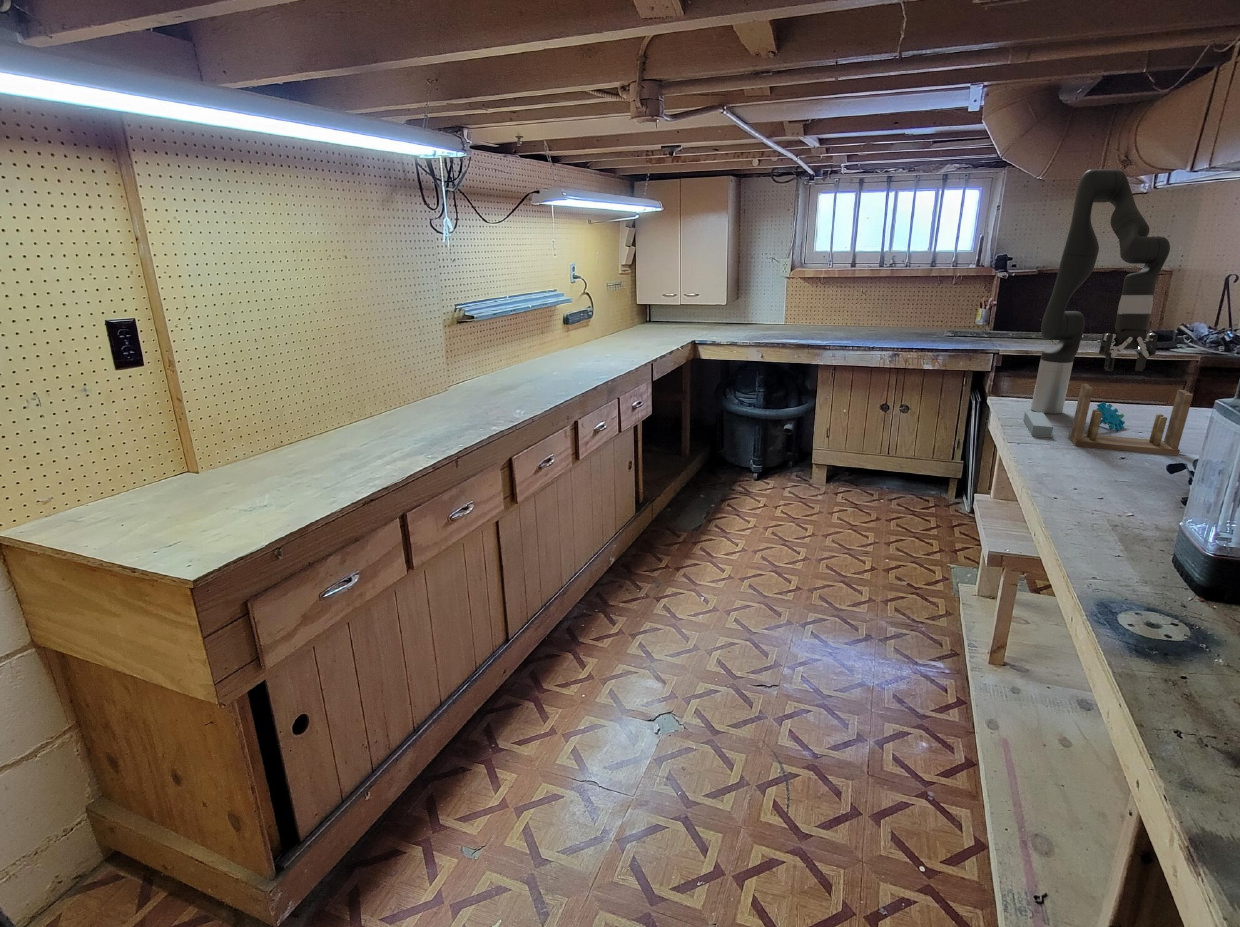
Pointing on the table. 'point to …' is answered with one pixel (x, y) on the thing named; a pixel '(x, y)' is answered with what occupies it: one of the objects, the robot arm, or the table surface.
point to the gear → (1110, 416)
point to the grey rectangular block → (1038, 424)
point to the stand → (1131, 444)
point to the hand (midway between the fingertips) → (1123, 370)
